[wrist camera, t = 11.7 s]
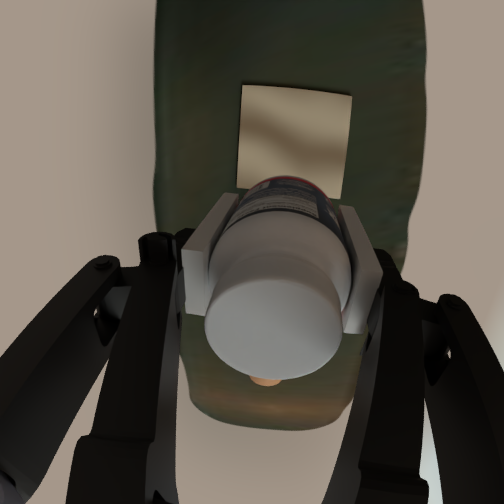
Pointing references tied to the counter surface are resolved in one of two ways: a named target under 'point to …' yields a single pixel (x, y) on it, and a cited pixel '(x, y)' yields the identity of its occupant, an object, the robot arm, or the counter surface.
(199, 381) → the counter surface
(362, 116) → the counter surface
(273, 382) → the plunger
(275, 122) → the coaster
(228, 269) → the pill bottle
